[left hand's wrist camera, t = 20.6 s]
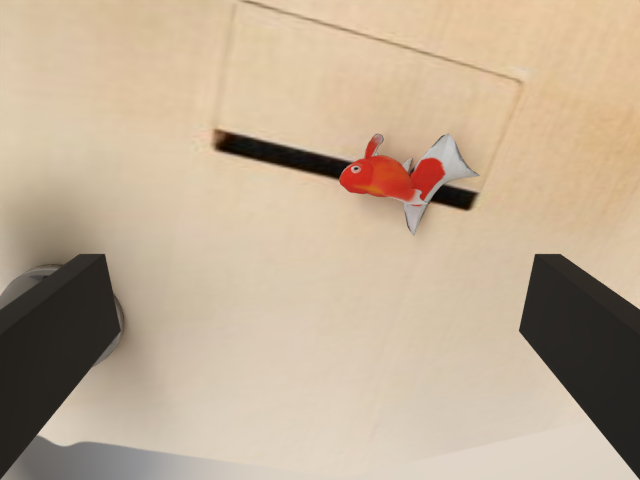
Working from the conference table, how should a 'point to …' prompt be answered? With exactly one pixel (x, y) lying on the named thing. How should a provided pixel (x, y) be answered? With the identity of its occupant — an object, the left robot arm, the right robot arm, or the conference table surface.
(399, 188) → the fish
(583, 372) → the left robot arm
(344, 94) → the conference table surface
